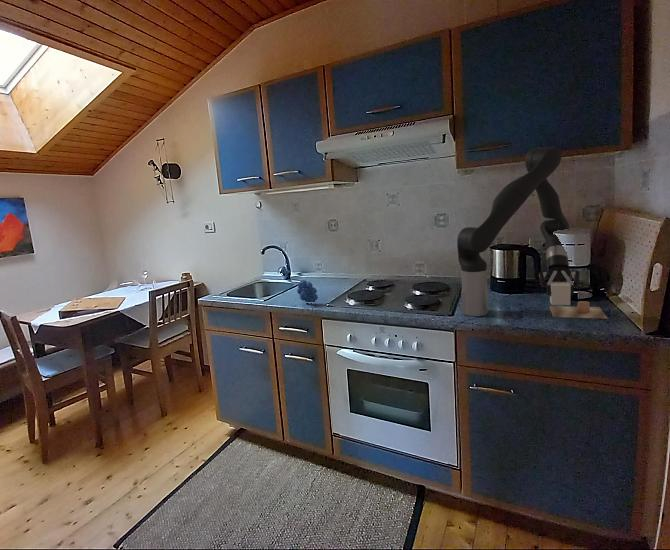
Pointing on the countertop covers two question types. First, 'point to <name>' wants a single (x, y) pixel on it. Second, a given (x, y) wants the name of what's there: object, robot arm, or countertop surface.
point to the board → (572, 312)
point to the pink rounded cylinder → (583, 307)
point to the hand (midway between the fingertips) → (560, 295)
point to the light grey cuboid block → (560, 293)
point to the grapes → (307, 291)
